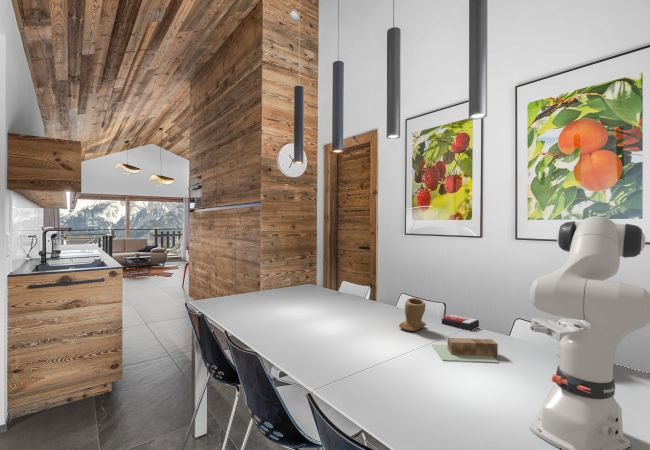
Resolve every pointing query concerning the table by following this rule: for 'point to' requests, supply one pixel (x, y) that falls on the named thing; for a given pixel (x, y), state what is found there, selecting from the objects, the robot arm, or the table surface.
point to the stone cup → (413, 314)
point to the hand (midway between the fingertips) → (532, 328)
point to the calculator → (460, 322)
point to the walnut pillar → (472, 347)
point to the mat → (461, 356)
